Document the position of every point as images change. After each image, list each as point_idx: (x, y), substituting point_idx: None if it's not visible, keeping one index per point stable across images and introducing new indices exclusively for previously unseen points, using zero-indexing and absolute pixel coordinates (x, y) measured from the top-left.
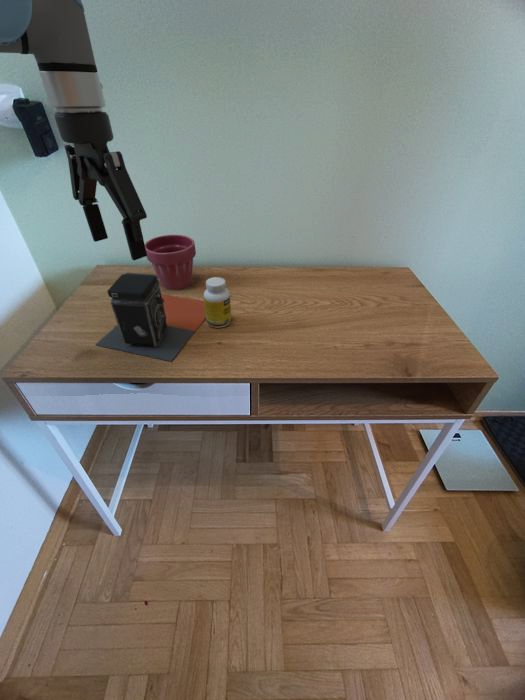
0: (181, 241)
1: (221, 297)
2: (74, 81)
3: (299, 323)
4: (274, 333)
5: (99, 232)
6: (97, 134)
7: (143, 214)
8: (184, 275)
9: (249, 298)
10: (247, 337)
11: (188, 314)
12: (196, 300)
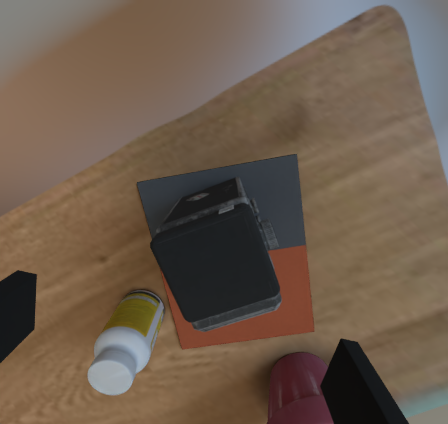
0: None
1: (97, 344)
2: None
3: (27, 356)
4: (44, 318)
5: (345, 395)
6: None
7: None
8: (271, 392)
9: (143, 384)
10: (73, 291)
11: None
12: (221, 342)
